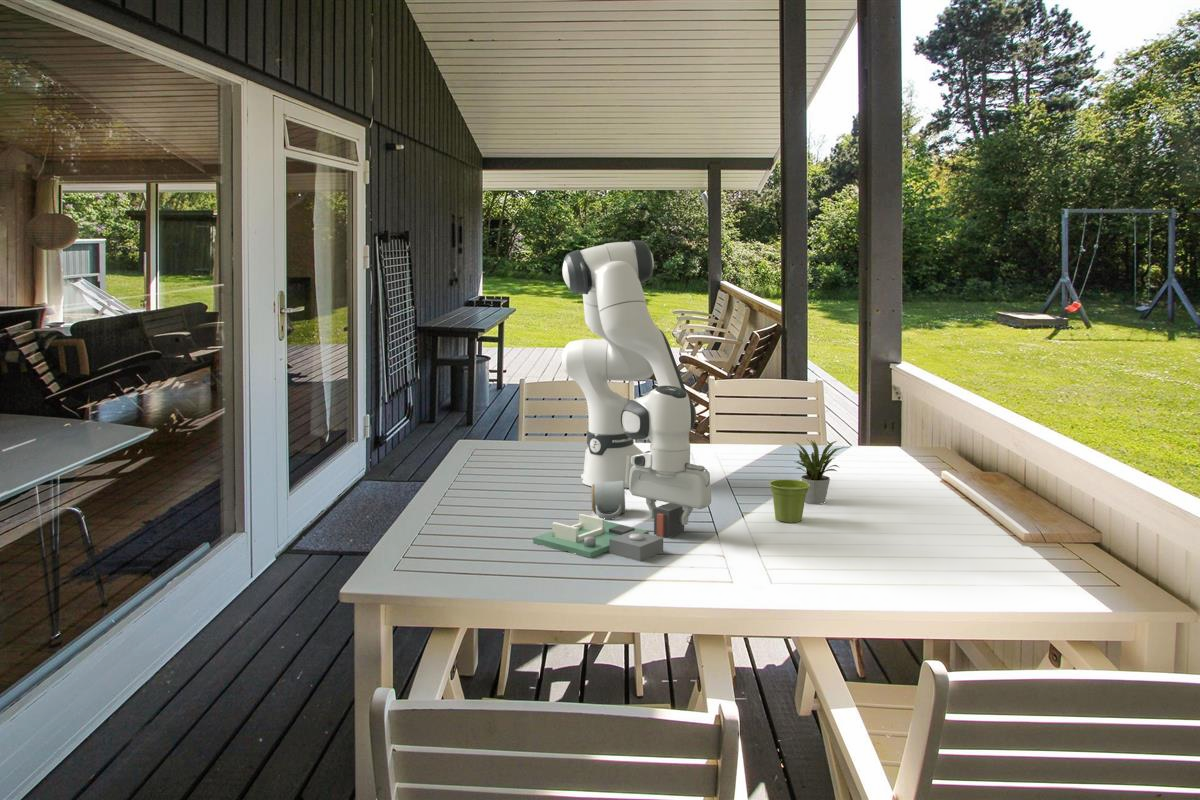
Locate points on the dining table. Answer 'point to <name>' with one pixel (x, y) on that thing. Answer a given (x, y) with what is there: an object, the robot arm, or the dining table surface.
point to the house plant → (816, 472)
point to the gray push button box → (636, 545)
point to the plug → (668, 520)
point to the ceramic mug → (608, 499)
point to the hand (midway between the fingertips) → (668, 521)
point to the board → (584, 535)
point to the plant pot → (789, 499)
